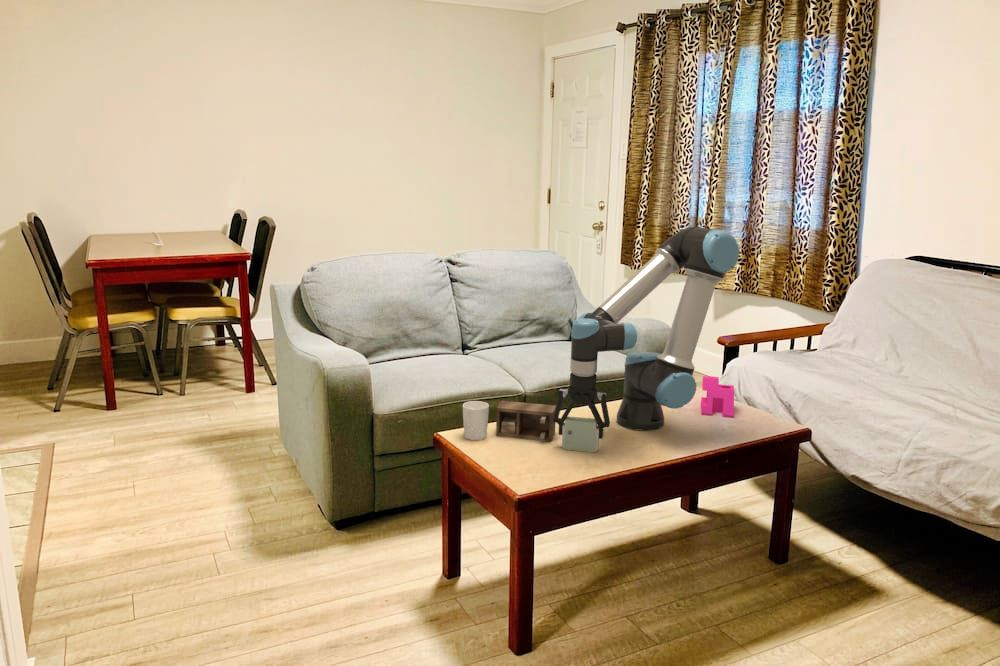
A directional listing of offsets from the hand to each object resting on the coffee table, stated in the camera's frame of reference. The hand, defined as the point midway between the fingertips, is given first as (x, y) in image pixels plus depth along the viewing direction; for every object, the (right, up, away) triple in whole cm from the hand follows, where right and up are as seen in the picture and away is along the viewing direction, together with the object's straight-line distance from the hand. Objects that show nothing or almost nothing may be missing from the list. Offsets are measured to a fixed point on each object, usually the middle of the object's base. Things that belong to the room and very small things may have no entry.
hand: (580, 446), depth 224 cm
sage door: (0, 0, 0) cm, 1 cm away
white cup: (-31, +2, +8) cm, 32 cm away
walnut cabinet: (-16, +2, +9) cm, 19 cm away
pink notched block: (+50, +7, +36) cm, 62 cm away
